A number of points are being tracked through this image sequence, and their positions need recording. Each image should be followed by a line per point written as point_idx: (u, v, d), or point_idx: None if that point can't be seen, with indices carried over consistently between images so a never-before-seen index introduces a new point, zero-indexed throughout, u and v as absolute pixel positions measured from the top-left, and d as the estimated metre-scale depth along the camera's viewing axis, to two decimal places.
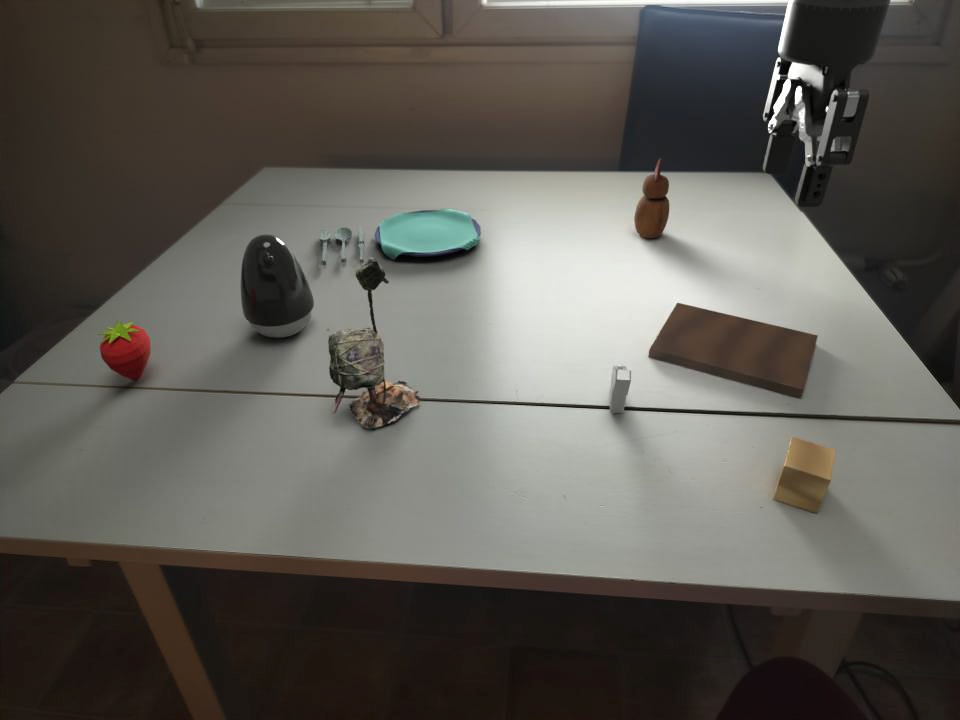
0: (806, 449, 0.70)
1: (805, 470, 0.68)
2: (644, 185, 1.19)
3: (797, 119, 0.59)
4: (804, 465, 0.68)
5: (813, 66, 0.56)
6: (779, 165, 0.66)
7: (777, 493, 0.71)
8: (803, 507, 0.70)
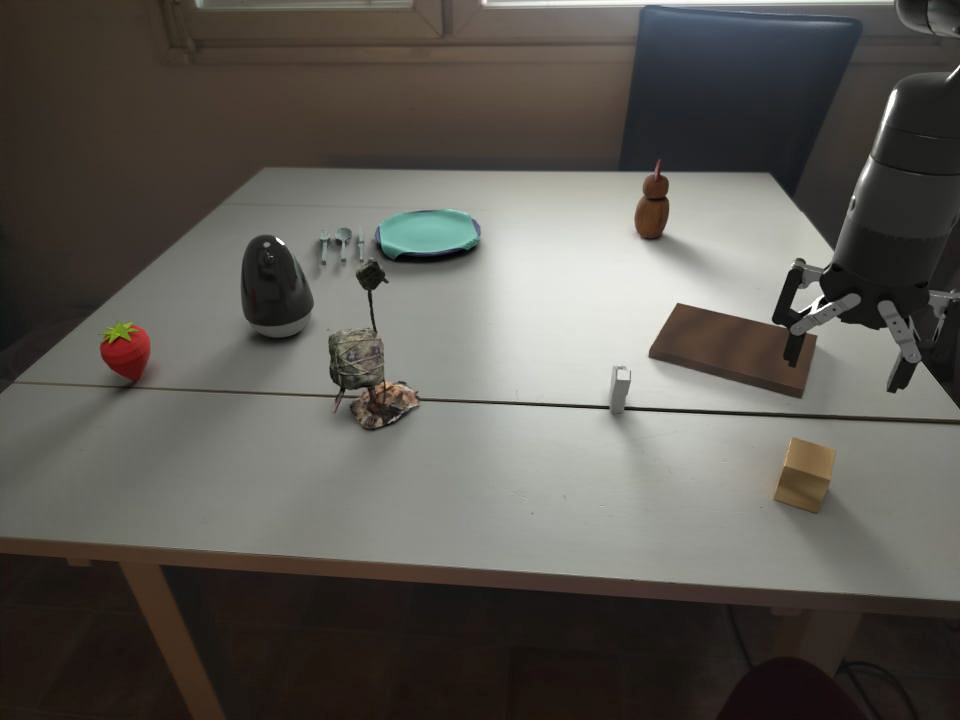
0: (806, 449, 0.70)
1: (805, 470, 0.68)
2: (644, 185, 1.19)
3: (865, 323, 0.59)
4: (804, 465, 0.68)
5: None
6: None
7: (777, 493, 0.71)
8: (803, 507, 0.70)
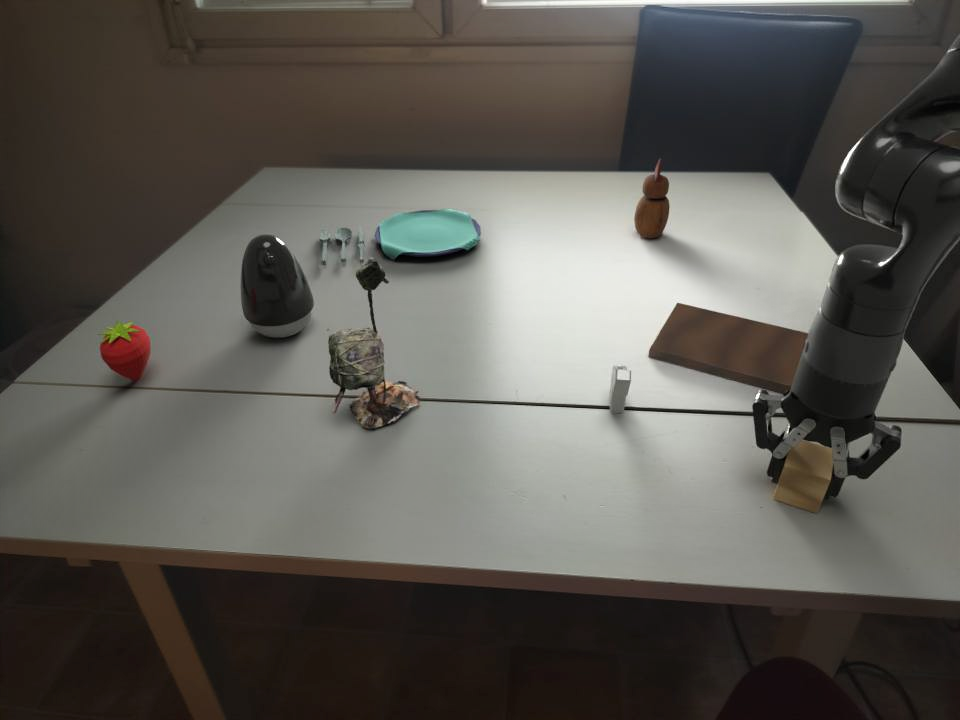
0: (806, 449, 0.70)
1: (805, 470, 0.68)
2: (644, 185, 1.19)
3: (820, 442, 0.67)
4: (804, 465, 0.68)
5: None
6: None
7: (777, 493, 0.71)
8: (803, 507, 0.70)
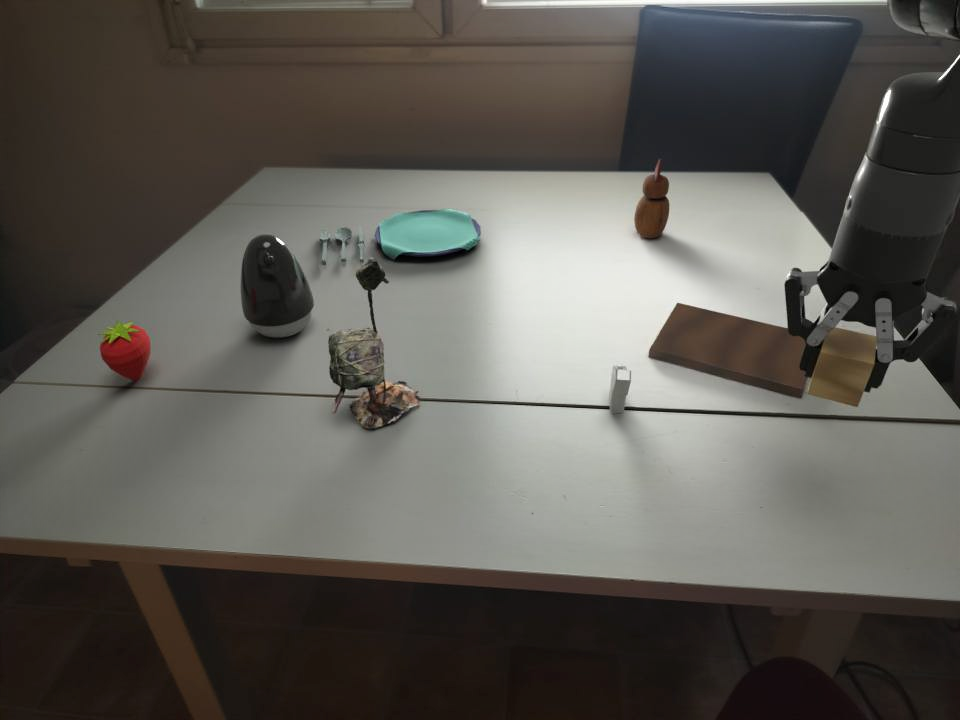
0: (844, 336, 0.63)
1: (844, 356, 0.60)
2: (644, 185, 1.19)
3: (862, 321, 0.59)
4: (843, 351, 0.61)
5: None
6: None
7: (812, 386, 0.63)
8: (841, 401, 0.62)
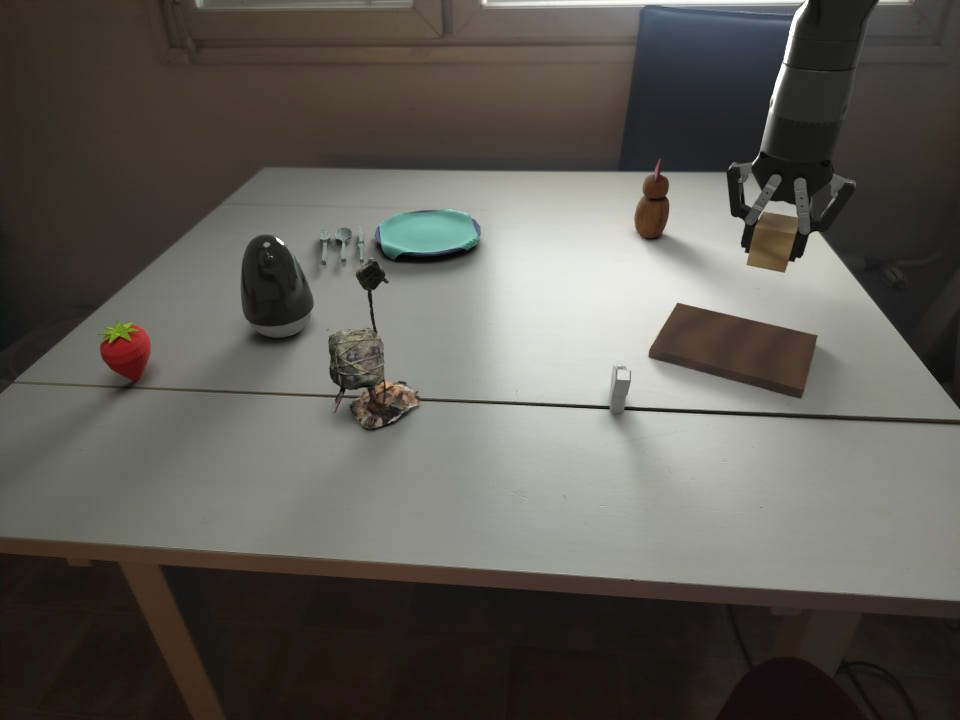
0: (775, 218, 0.79)
1: (773, 229, 0.77)
2: (644, 185, 1.19)
3: (786, 200, 0.75)
4: (772, 226, 0.77)
5: None
6: None
7: (749, 258, 0.79)
8: (772, 268, 0.79)
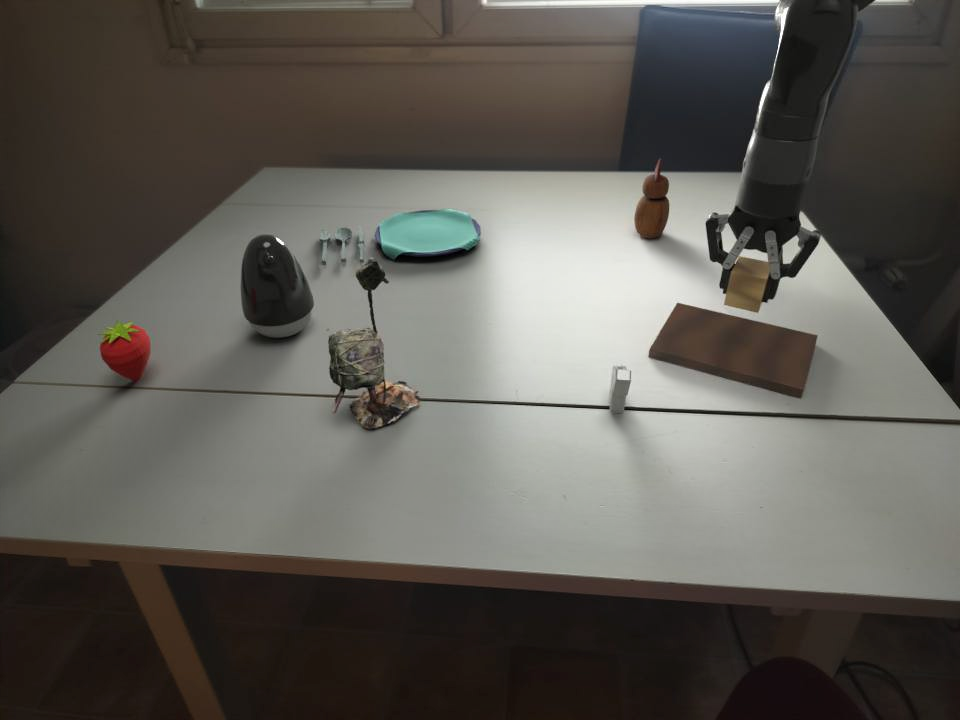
0: (749, 263, 0.87)
1: (747, 274, 0.85)
2: (644, 185, 1.19)
3: (759, 248, 0.84)
4: (747, 271, 0.85)
5: None
6: None
7: (726, 299, 0.88)
8: (747, 308, 0.87)
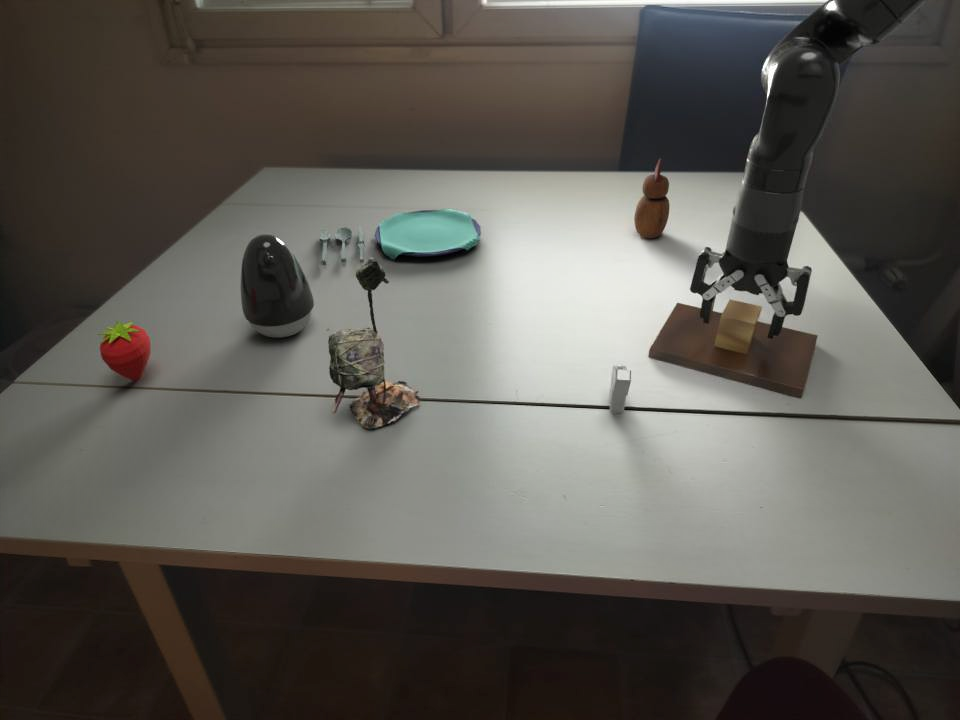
0: (739, 306, 0.91)
1: (736, 318, 0.89)
2: (644, 185, 1.19)
3: (749, 290, 0.87)
4: (736, 315, 0.89)
5: None
6: (711, 315, 0.93)
7: (717, 340, 0.92)
8: (736, 350, 0.91)
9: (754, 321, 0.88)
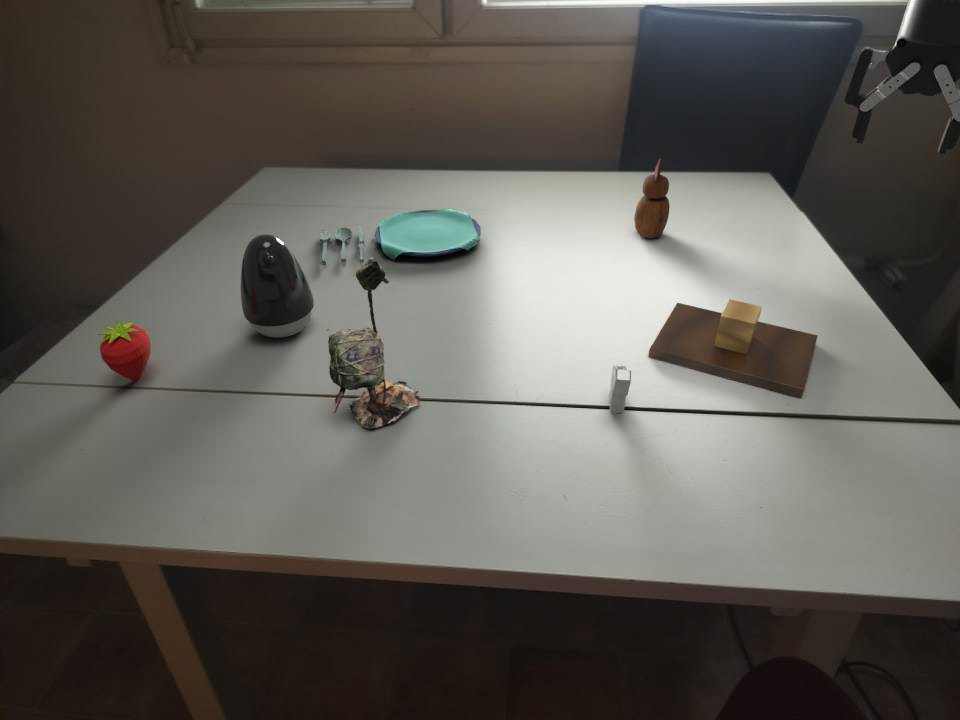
0: (739, 306, 0.91)
1: (736, 318, 0.89)
2: (644, 185, 1.19)
3: (922, 91, 0.74)
4: (736, 315, 0.89)
5: (946, 47, 0.71)
6: None
7: (717, 340, 0.92)
8: (736, 350, 0.91)
9: (754, 321, 0.88)
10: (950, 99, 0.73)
